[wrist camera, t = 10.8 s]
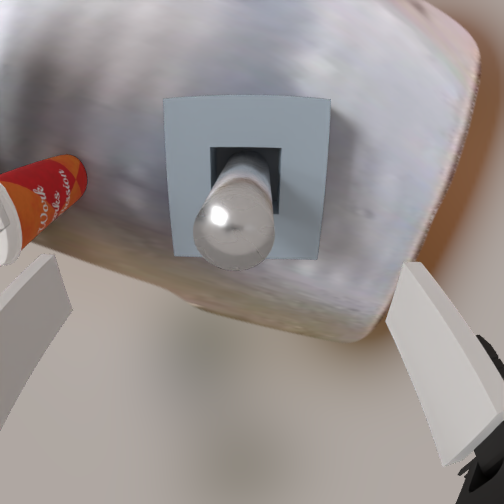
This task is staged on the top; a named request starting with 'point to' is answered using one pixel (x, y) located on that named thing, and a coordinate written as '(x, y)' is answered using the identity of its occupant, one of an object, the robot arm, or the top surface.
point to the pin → (237, 215)
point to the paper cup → (36, 200)
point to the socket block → (255, 139)
